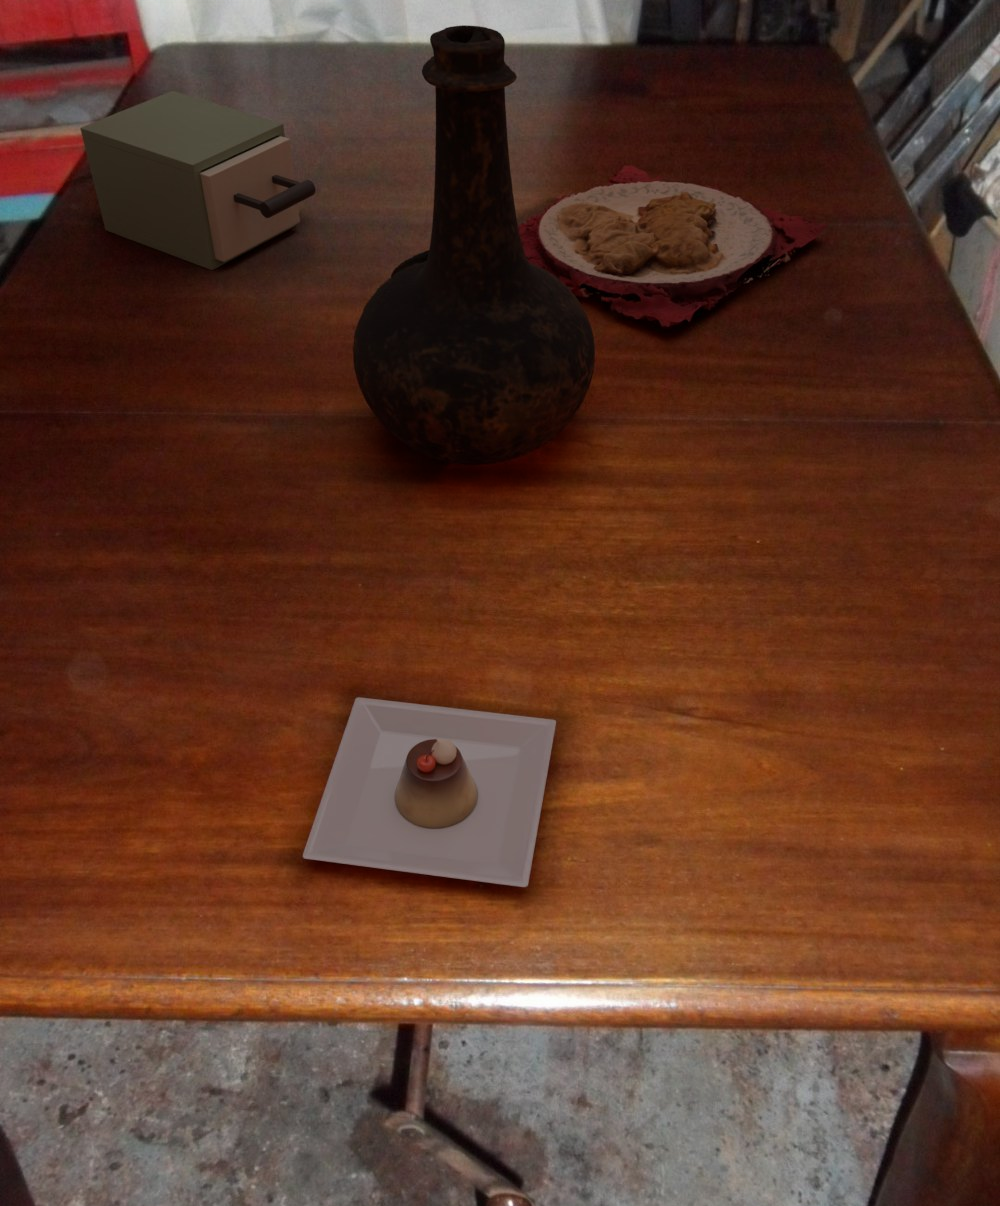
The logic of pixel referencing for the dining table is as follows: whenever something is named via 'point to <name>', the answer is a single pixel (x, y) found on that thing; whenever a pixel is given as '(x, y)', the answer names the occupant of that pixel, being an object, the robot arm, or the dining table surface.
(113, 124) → the cabinet
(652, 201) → the plate with food
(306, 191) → the drawer
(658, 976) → the dining table surface
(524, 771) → the dessert
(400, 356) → the glass bottle
